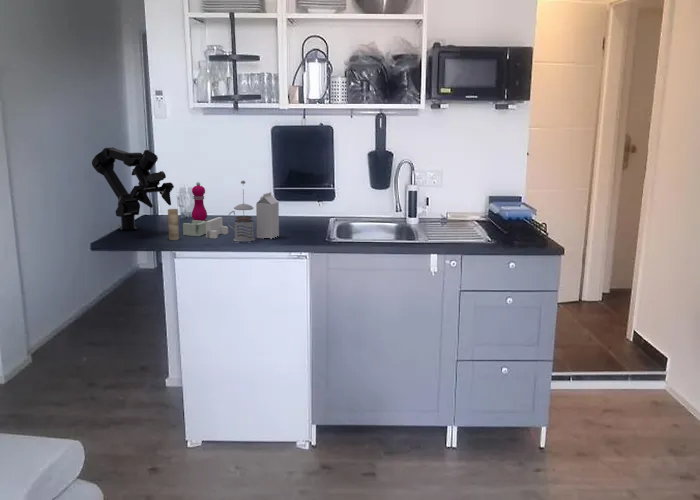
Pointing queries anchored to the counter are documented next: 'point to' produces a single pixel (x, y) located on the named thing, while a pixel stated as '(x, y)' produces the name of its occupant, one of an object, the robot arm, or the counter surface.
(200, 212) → the pepper mill
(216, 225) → the backstop wall
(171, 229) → the dowel
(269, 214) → the milk carton
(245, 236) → the french press
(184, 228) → the cradle
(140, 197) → the robot arm
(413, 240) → the counter surface
